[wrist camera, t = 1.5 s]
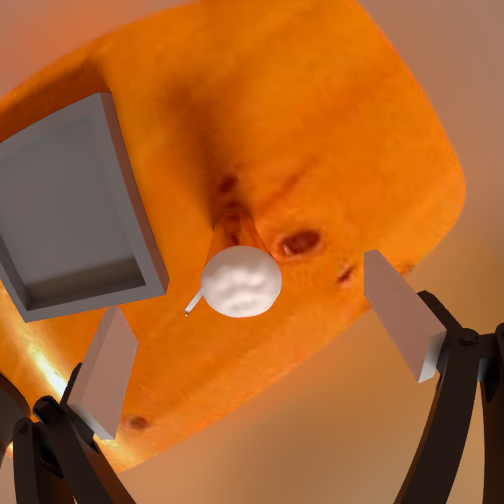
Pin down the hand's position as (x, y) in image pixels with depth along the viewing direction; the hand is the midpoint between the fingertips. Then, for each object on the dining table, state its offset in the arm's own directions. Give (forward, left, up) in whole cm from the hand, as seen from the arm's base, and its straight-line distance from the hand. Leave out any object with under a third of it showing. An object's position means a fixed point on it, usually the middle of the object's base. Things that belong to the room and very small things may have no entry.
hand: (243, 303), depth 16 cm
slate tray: (-14, +5, -10) cm, 18 cm away
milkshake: (0, 0, -10) cm, 10 cm away
